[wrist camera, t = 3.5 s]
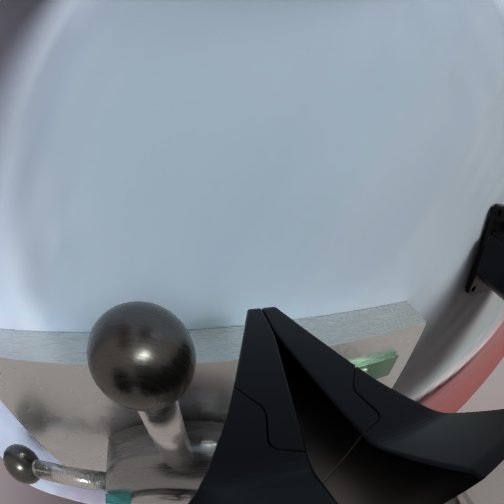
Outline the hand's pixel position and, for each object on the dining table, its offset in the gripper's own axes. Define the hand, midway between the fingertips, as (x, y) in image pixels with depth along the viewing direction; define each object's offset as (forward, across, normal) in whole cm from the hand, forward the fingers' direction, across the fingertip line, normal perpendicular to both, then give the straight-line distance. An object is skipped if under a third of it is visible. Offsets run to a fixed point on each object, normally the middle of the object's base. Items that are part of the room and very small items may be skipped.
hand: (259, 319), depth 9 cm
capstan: (+1, +4, +12) cm, 13 cm away
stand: (+3, +2, +12) cm, 13 cm away
